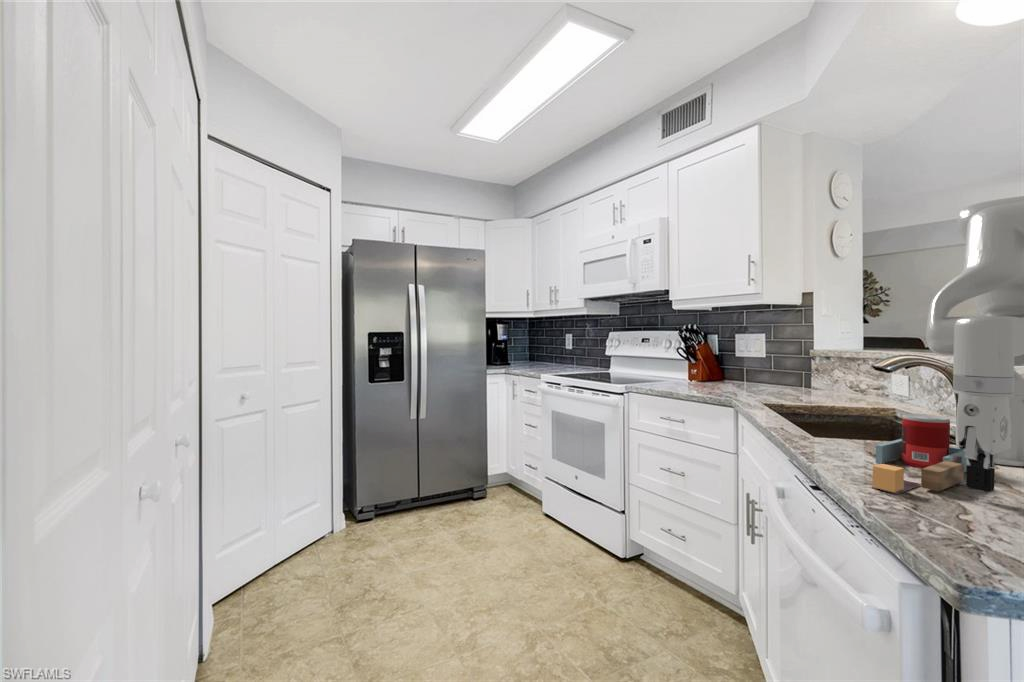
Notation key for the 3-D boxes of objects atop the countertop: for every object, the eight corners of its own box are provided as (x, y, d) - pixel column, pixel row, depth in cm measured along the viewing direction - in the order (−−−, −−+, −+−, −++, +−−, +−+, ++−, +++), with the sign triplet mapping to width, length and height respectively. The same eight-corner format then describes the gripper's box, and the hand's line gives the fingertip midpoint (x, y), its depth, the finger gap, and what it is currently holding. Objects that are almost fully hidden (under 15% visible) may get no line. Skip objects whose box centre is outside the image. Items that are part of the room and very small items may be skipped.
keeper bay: (901, 454, 112) (901, 438, 112) (974, 468, 101) (974, 450, 101) (875, 462, 106) (876, 445, 105) (950, 478, 94) (950, 458, 94)
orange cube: (881, 483, 90) (881, 463, 90) (903, 489, 87) (903, 468, 86) (872, 486, 88) (872, 466, 88) (894, 492, 85) (895, 470, 85)
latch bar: (948, 476, 93) (949, 454, 93) (965, 480, 91) (965, 457, 91) (921, 487, 87) (921, 463, 87) (938, 491, 85) (938, 466, 85)
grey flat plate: (895, 479, 93) (895, 478, 93) (920, 485, 90) (920, 484, 90) (872, 487, 88) (872, 486, 88) (897, 494, 85) (897, 492, 85)
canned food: (958, 471, 99) (959, 420, 99) (915, 469, 100) (916, 418, 100) (933, 461, 106) (934, 414, 106) (893, 459, 108) (894, 412, 108)
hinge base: (946, 477, 94) (946, 476, 94) (972, 483, 91) (972, 481, 91) (938, 480, 92) (938, 479, 92) (964, 486, 89) (964, 485, 89)
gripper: (997, 390, 75) (994, 503, 75) (1026, 386, 82) (1024, 488, 82) (937, 386, 81) (935, 489, 81) (969, 382, 89) (967, 477, 89)
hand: (980, 489), depth 82 cm, fingers closed
